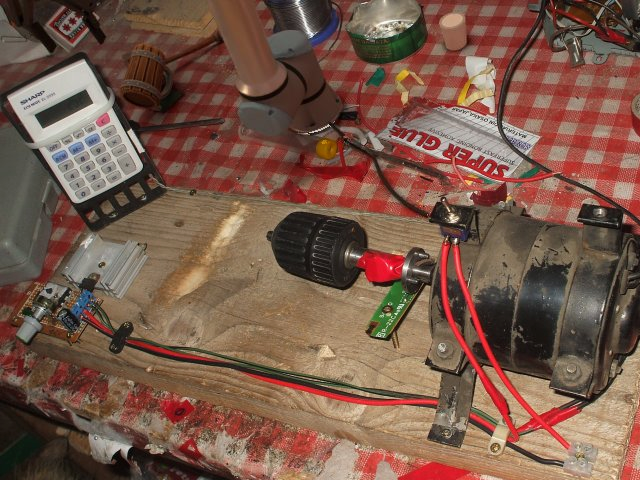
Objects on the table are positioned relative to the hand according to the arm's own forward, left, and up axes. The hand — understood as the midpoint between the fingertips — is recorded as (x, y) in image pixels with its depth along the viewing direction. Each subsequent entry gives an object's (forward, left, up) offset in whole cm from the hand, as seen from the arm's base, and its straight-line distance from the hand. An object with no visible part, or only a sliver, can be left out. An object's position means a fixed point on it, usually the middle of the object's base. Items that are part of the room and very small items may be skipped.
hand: (78, 45), depth 146 cm
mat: (+15, -14, -33) cm, 39 cm away
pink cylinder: (-54, -68, -33) cm, 93 cm away
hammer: (+19, -28, -33) cm, 47 cm away
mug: (+9, -7, -28) cm, 30 cm away
